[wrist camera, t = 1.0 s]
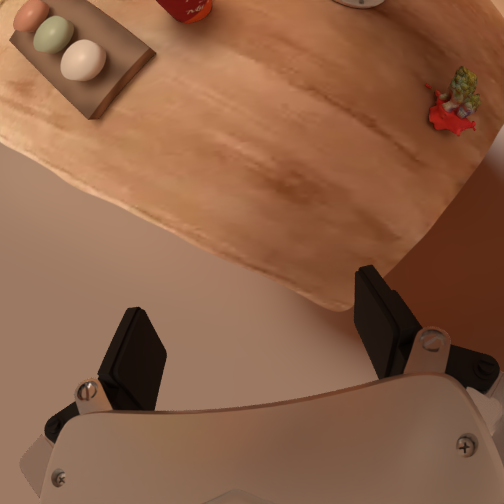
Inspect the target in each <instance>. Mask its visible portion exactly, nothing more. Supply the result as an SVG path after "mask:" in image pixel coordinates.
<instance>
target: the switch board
mask: <svg viewBox="0 0 504 504" xmlns="http://www.w3.org/2000/svg"><path fill="white" fill-rule="evenodd" d="M40 1H42V2H45V3H47V4H48V5H49V12H48V15H47V17H46V19H45V20H47V19H48V18H50V17H52V16H60V17H62V18H64V19H67V20H69V21H71V22H72V23H73V25H74V32H73V36H72V38H71V40H70V41H69V43H68V44H67V45H66V46H65V47H64V48H63V49H62V50H61V51H59V52H57V53H53V54H51V53H46V52H41V51H37V50H36V49H35V48H34V44H33V41H34V36H35V34H36V31H37V30H38V29H37V30H35V31H33V32H31V33H27V32H23V31H18V30H15V32H14V33H13V35H12V36H11V38H10V40H9V41H10V42H11V43H12V44H13V45H14V46H15V47H16V48H17V49H18V50H19V51H20V52H21V53H22V54H23V55H24V56H25V57H26V58H27V59H28V60H29V61H30V62H31V63H32V64H33V65H34V66H35V67H36V68H37V69H38V70H39V71H40V72H41V73H42V74H43V76H44V77H45V78H46V79H47V80H48V81H49V82H50V83H51V84H52V85H53V86H54V87H55V88H56V89H57V90H58V91H59V92H60V93H61V94H62V95H63V96H64V97H65V98H66V99H67V100H69V101H70V102H71V103H72V104H73V105H74V106H75V107H76V108H77V109H78V110H79V111H80V112H81V113H82V114H83V115H84V116H85V117H86V118H87V119H88V120H90V119H99V117H100V116H101V115H102V113H103V112H104V111H105V109H106V108H107V107H108V106H109V104H110V103H111V102H112V101H113V99H114V98H115V97H116V96H117V95H118V93H119V92H120V91H121V90H122V89H123V88H124V86H125V85H126V84H127V83H128V82H129V81H130V80H131V79H132V77H133V76H134V75H135V74H136V73H137V72H138V71H139V70H140V69H141V68H142V67H143V66H144V65H145V64H146V63H147V62H148V61H149V60H150V59H151V58H152V57H153V56H154V55H155V54H156V52H155V51H153V50H152V49H151V48H150V47H148V46H147V45H146V44H145V43H144V42H142V41H141V40H140V39H139V38H137V37H136V36H135V35H133V34H132V33H131V32H130V31H128V30H127V29H126V28H124V27H123V26H122V25H120V24H119V23H118V22H116V21H115V20H114V19H112V18H111V17H110V16H108V15H107V14H106V13H104V12H103V11H101V10H100V9H98V8H97V7H96V6H94V5H93V4H91V3H90V2H88V1H87V0H40ZM79 40H89V41H92V42H94V43H96V44H99V45H101V46H102V47H103V48H104V49H105V52H106V61H105V64H104V66H103V68H102V70H101V71H100V73H99V74H98V75H97V76H95V77H94V78H92V79H91V80H88V81H78V80H70V79H67V78H65V77H64V76H63V74H62V72H61V60H62V57H63V55H64V53H65V52H66V50H67V49H68V48H69V47H70V46H71V45H72V44H73V43H75V42H77V41H79Z"/></svg>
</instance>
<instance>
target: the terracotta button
mask: <svg viewBox="0 0 504 504" xmlns="http://www.w3.org/2000/svg"><path fill="white" fill-rule="evenodd" d="M48 12H49V5H48V4H47V3H45V2H42V1H40V0H29V1H27V2H26V3H25V4H24V5H23V6H22V7H21V8H20V9H19V11H18V12H17V14H16V16H15V19H14V22H13V27H14V29H15V30H18V31H23V32H27V33H31V32H33V31H35V30H37V29H38V28H39V27H40V25H41V24H42V23H43V22H44V21H45V19H46V17H47V15H48Z"/></svg>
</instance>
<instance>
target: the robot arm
mask: <svg viewBox="0 0 504 504" xmlns="http://www.w3.org/2000/svg"><path fill="white" fill-rule="evenodd" d="M334 1H336V2H339V3H341V4H343V5H347V6H350V7H355V8H372V7H375V6H377V5H379V4H381V3H382V2H383V1H384V0H334ZM354 323H355V326H356V328H357V331H358V333H359V335H360V337H361V339H362V342H363V344H364V346H365V348H366V351H367V353H368V355H369V357H370V360H371V362H372V364H373V366H374V369H375V371H376V374H377V376H378V378H379V380H376V381H372V382H368V383H365V384H361V385H357V386H353V387H349V388H344V389H340V390H336V391H332V392H327V393H323V394H318V395H313V396H308V397H303V398H297V399H292V400H286V401H280V402H274V403H266V404H259V405H251V406H243V407H232V408H221V409H206V410H184V411H154V410H155V406H156V401H157V396H158V392H159V387H160V383H161V379H162V375H163V370H164V366H165V362H166V358H167V353H166V350H165V348H164V346H163V344H162V342H161V340H160V339H159V337H158V335H157V333H156V331H155V329H154V327H153V325H152V324H151V322H150V320H149V318H148V316H147V314H146V312H145V310H143V309H141V308H140V307H133V308H128V309H127V310H126V312H125V314H124V316H123V318H122V320H121V322H120V324H119V326H118V328H117V331H116V333H115V335H114V337H113V339H112V341H111V344H110V346H109V348H108V350H107V353H106V355H105V357H104V359H103V362H102V364H101V366H100V369H99V371H98V375H99V377H98V380H97V379H94V378H90V379H86V380H84V381H83V382H81V383H80V384H79V385H78V387H77V388H76V390H75V394H74V396H75V402H73V403H72V404H70V405H69V406H67V407H66V408H64V409H63V410H61V411H60V412H58V413H57V414H55V415H54V416H52V417H51V418H50V419H49V420H48V421H47V423H46V425H45V430H44V431H45V436H43V435H41V436H40V437H39V438H38V439H37V440H36V441H35V442H34V443H33V445H32V446H31V447H30V448H29V449H28V450H27V451H26V453H25V454H24V455H23V456H22V458H21V460H20V469H21V471H22V473H23V474H24V476H25V478H26V479H27V481H28V482H29V484H30V485H31V487H32V488H33V490H34V491H35V492H36V494H37V495H38V497H39V498H40V502H39V504H504V373H503V372H501V371H500V368H499V365H498V363H497V361H496V360H495V359H494V358H493V357H491V356H489V355H487V354H483V353H479V352H475V351H472V350H469V349H465V348H462V347H458V346H454V345H451V344H450V337H449V335H448V334H447V333H446V332H445V331H444V330H442V329H441V328H438V327H426V328H422V326H421V325H420V324H419V322H418V321H417V319H416V318H415V316H414V315H413V313H412V312H411V310H410V309H409V308H408V306H407V305H406V304H405V302H404V301H403V299H402V298H401V297H400V295H399V294H398V293H397V292H396V291H395V290H391V289H390V288H389V286H388V285H387V284H386V282H385V281H384V279H383V278H382V277H381V275H380V274H379V273H378V271H377V270H376V269H375V268H374V266H373V265H368V266H363V267H360V268H359V271H356V272H355V303H354Z"/></svg>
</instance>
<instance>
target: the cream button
mask: <svg viewBox="0 0 504 504" xmlns="http://www.w3.org/2000/svg"><path fill="white" fill-rule="evenodd" d="M105 61H106V52H105V49H104V48H103V47H102V46H101V45H99V44H96V43H94V42H92V41H89V40H79V41H77V42H75V43H73V44H72V45H71V46H70V47H69V48H68V49H67V50H66V52H65V53H64V55H63V57H62V60H61V72H62V74H63V76H64V77H65V78H67V79H70V80H78V81H88V80H91V79H92V78H94V77H95V76H97V75H98V74H99V73H100V71H101V70H102V68H103V66H104V64H105Z"/></svg>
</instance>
